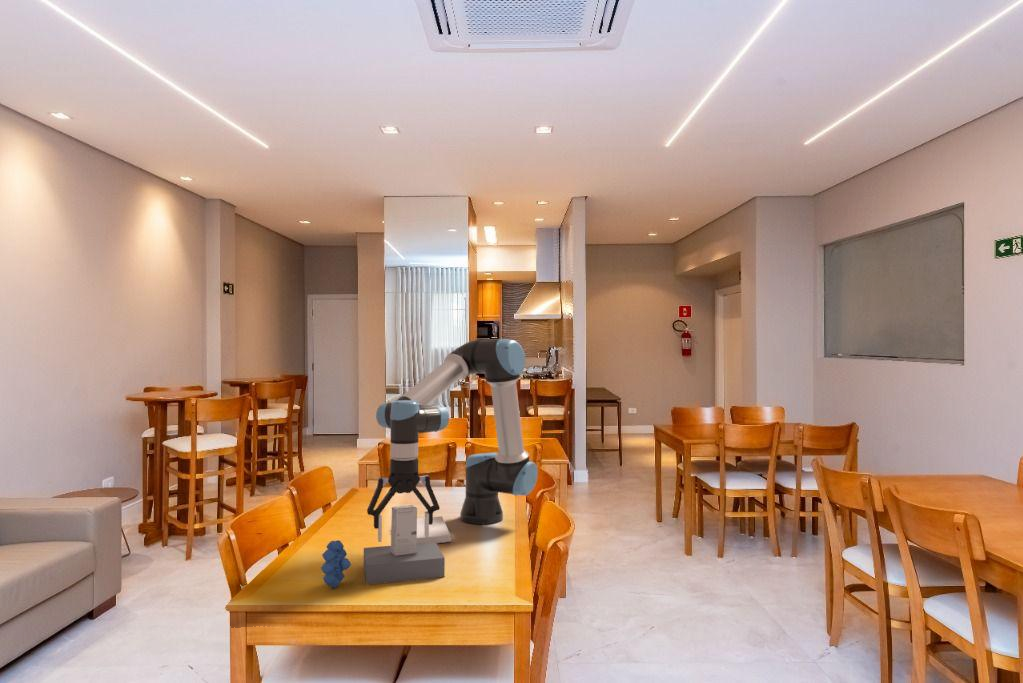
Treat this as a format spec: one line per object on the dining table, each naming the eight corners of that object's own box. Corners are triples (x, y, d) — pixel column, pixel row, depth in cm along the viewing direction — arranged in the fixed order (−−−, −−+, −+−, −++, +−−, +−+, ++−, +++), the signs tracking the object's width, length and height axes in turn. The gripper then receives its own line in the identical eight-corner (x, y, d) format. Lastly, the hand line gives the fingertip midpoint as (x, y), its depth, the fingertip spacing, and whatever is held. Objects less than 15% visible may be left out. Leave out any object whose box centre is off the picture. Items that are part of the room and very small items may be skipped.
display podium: (435, 559, 172) (435, 541, 173) (444, 577, 159) (444, 557, 159) (363, 566, 167) (363, 547, 167) (366, 584, 153) (366, 564, 153)
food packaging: (450, 546, 188) (441, 526, 207) (450, 535, 188) (441, 516, 207) (401, 550, 184) (397, 529, 203) (401, 539, 184) (397, 519, 203)
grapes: (341, 597, 145) (342, 547, 145) (314, 596, 146) (315, 546, 146) (359, 579, 157) (359, 533, 157) (333, 578, 157) (334, 532, 158)
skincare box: (395, 556, 160) (395, 510, 160) (390, 551, 164) (390, 506, 164) (417, 553, 163) (417, 507, 163) (412, 548, 167) (412, 504, 167)
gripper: (445, 453, 171) (445, 531, 170) (357, 457, 164) (356, 537, 163) (450, 458, 163) (450, 538, 163) (358, 462, 156) (357, 546, 156)
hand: (403, 538), depth 163 cm, fingers open, 12 cm apart
